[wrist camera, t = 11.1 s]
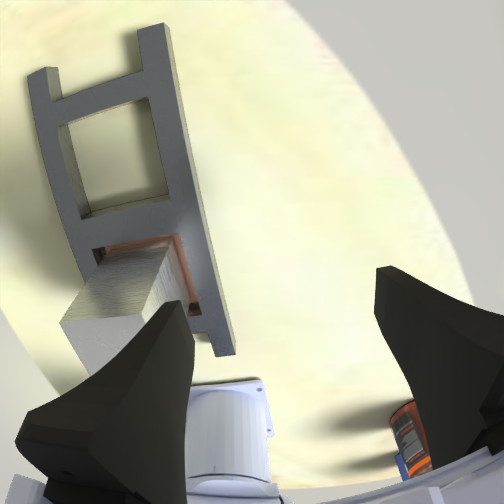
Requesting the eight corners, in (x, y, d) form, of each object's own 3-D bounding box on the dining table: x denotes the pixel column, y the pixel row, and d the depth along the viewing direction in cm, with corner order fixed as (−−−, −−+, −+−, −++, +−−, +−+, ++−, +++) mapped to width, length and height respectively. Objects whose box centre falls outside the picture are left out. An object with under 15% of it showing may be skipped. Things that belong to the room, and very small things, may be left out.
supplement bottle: (382, 430, 32) (408, 507, 22) (395, 402, 30) (429, 487, 19) (424, 419, 32) (454, 490, 22) (440, 390, 30) (478, 467, 20)
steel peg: (191, 296, 22) (173, 384, 15) (132, 304, 22) (98, 387, 15) (173, 236, 20) (141, 314, 13) (110, 248, 20) (59, 322, 13)
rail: (235, 341, 24) (235, 354, 23) (129, 351, 25) (124, 364, 23) (169, 28, 15) (163, 22, 13) (39, 76, 15) (27, 76, 13)
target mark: (199, 299, 22) (198, 301, 22) (129, 308, 23) (128, 310, 22) (179, 228, 20) (178, 230, 20) (104, 242, 20) (103, 244, 20)
